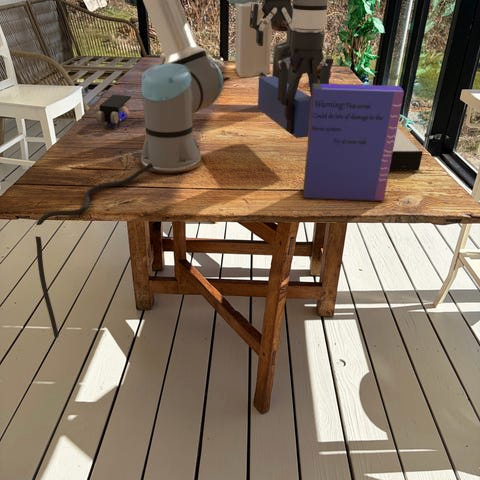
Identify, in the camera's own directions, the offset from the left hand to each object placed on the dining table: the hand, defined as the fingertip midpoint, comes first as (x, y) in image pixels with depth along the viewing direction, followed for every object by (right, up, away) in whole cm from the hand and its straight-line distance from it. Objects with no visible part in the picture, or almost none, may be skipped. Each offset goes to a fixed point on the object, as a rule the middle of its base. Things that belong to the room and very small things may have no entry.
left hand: (299, 131), depth 119 cm
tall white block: (-9, +49, +99) cm, 111 cm away
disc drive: (+21, -4, +11) cm, 24 cm away
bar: (-3, +4, +9) cm, 10 cm away
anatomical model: (+18, +38, +80) cm, 90 cm away
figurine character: (-54, +9, +32) cm, 63 cm away
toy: (-37, +54, +106) cm, 124 cm away
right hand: (-5, +27, +13) cm, 30 cm away
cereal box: (+8, -17, -11) cm, 22 cm away
